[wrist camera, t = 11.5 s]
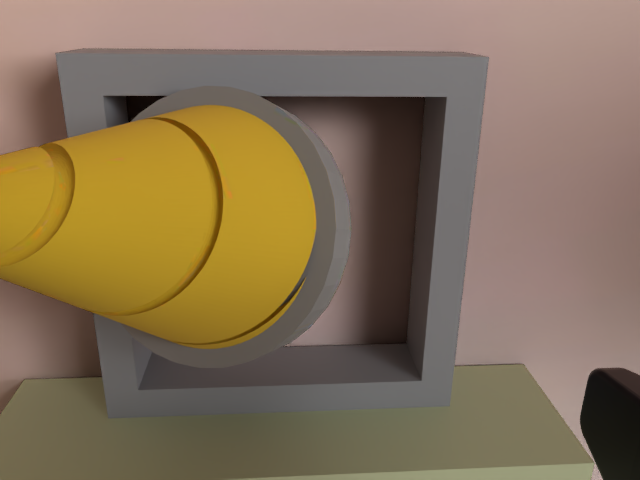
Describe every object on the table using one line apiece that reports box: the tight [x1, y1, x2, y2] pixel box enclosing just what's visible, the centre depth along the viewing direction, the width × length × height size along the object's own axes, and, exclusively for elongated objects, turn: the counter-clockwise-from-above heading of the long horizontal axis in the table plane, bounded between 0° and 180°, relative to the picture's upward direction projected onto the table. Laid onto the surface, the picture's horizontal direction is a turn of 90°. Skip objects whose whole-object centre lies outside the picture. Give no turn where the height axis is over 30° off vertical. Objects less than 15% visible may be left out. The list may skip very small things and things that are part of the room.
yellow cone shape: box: [0, 86, 351, 368], centre depth 10 cm, size 5×5×10 cm
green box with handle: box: [0, 49, 594, 480], centre depth 15 cm, size 14×20×4 cm
